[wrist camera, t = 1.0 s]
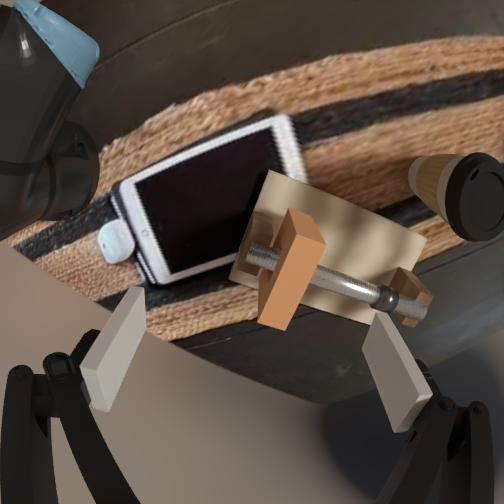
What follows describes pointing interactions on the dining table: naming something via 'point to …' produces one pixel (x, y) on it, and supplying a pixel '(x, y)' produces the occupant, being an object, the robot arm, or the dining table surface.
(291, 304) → the orange square ring
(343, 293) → the pipe
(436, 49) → the dining table surface
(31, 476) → the robot arm
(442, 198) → the coffee cup
